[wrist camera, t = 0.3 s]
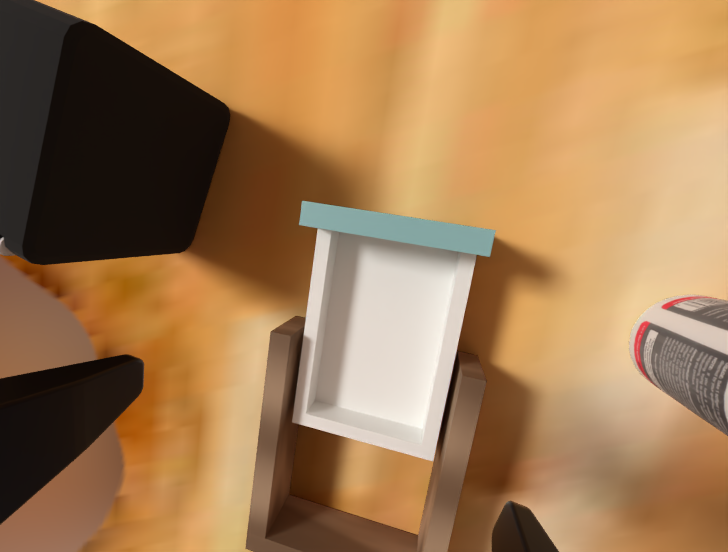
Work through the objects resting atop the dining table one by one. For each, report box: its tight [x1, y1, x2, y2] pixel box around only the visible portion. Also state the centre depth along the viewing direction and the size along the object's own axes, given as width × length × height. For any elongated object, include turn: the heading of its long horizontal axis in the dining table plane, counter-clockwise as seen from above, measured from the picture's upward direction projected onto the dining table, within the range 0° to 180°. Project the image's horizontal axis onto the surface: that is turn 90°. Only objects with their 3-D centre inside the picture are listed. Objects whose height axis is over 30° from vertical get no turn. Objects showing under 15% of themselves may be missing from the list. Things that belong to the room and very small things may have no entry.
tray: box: [292, 201, 496, 461], centre depth 19 cm, size 13×9×4 cm
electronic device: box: [0, 0, 230, 265], centre depth 18 cm, size 4×10×10 cm, turn 157°
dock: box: [246, 316, 487, 552], centre depth 21 cm, size 14×12×4 cm
